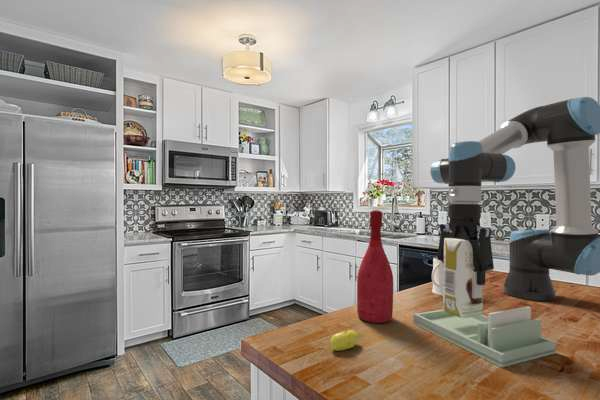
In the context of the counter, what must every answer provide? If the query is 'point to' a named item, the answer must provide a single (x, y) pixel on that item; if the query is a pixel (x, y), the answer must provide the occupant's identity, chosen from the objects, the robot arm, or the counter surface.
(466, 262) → the juice carton
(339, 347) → the lemon
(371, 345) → the counter surface
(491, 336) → the dish rack
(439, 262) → the mug
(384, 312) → the wine bottle
